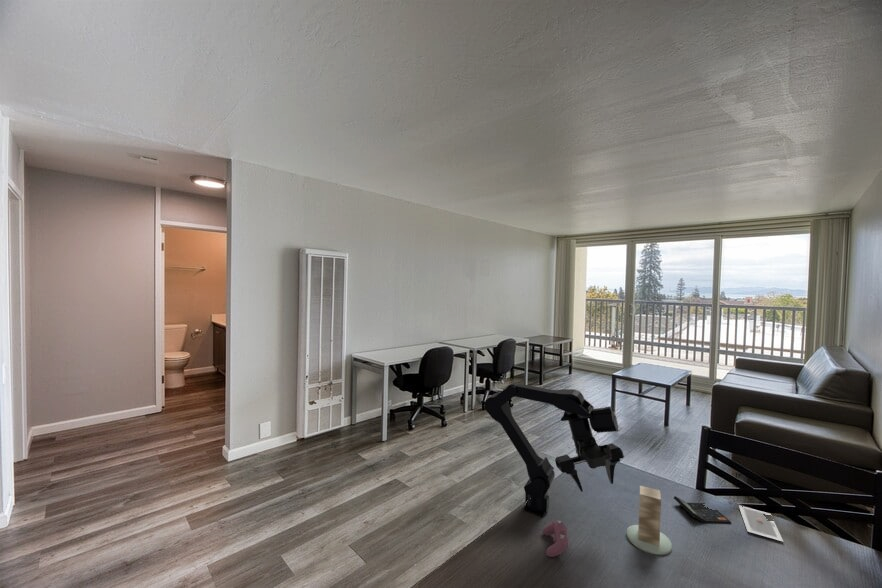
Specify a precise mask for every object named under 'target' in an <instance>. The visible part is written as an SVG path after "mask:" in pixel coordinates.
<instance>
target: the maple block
mask: <svg viewBox="0 0 882 588" xmlns="http://www.w3.org/2000/svg"><path fill="white" fill-rule="evenodd" d="M638 497H639V501H638V503H639V504H638V505H639V506H638V524H637V525H638V536H639V540H640V541H643V542H646V543H650V544H653V545H656V546H660V532H661V515H662V512H661V511H662V495H661V490H659V489H655V488H652V487H647V486H643V485H639V495H638Z"/></svg>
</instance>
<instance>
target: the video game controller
mask: <svg viewBox="0 0 882 588" xmlns="http://www.w3.org/2000/svg"><path fill="white" fill-rule="evenodd" d="M542 534H543V535H544V536H548V537H549V536H552V535H553V539H552V540H553V542H554V543H552V544H551V545H550V546H548V547H547V549H545V554H546V556H547V557H550V558H551V557H552V558H553V557H557V556H559V555H560V554H562V553H563V552H566V550H567V549H568V548H569V546H570V545H569V538H568V531H567V527H566V525H565V523H564V522H563V521H561V520H558V519H556V520H553V521H552V522H550V523H548V524H547V525H545V526H544V527H543V529H542Z"/></svg>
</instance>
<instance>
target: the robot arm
mask: <svg viewBox="0 0 882 588" xmlns="http://www.w3.org/2000/svg"><path fill="white" fill-rule="evenodd" d="M513 398H520V399H525V400H529V401H533V402H539V403H542V404H543V403H544V404H548V405H551V406H554V407H555V408H557V409H558V410H561V411H563V414H562V417H561V418H560V421H561V422H564V421H566V422H567V421H568V424H569V428H570V432H571V439H572V440H573V443H574V447H575V454H576V455H575V456H574V457H570V456H569V454H563V455H559V456H556V457H555V460H554V462H555V465H556V468H557V469H558V470H559V471H560V472H561V473H564V474H566V475H570V477H571V478H572V480H573V481H574V483H575V484H576V486H577V487H578V489H579V491H580V492H584V491H583V487H582V484H581V481H580V478H579V476H578V471H577V469H575V468H576V465H578V464H582V463H585V462H586V463H587V465H588V467H589V468H590V469H597V468H599V467H604V468H605V471H606V475H607V477H608V480H609V483H610V484H611V485H614V477H615V468H616V465H617V464H618V463H619V462H620V461H621V459H624V458H625V455H624V452H623V450H622V448H621V447H619V446H617V445H615V444H614V443H607V444H603V445H601V444H600V445H598V443H597V440H596V437H594V435H593V431H594V432H596V433H598V434H600V433H615V432H619V424H618V420H617V416H616V415H615V413H614V411H613V409H612V406H609V405H608V406H605V407H600V408H595V406H594V405H592V404H591V403H590V402H589V401H588V400H587V399H585V397H584V395H583V394H582V392H581V391H580V390H577V389H573V388H571V389H570V388H569V389H567V388H565V389H549V388H546V387H545V388H544V387H539V386H535V385H529V384H523V383H519V382H516V381H513V382H511V383H509V384H508V385H507V386H506V388H504V389H503V390H502V391H501V392H495V393H493V394H492V395H491V396H489V397H488V398H486V399H485V402H484V405H483V406H484V407H483V408H484V410H485V411H486V413H487V414H488V415H489V416H490V418H491V419H493V420H494V421H495V422H497V423H499V424H500V426H501V427H502V429H503V430H504V432H505V434H506V435H507V437H508V438H509V441H511V443H512V445H513V446H514V448H515V450H516V451H517V453H518V454H519V455H520V457H521V459H522V461H523V462H524V464H525V467H526V472H527V475H528V480H527V481H526V483H525V484H524V486H523V489H524V492H525V493H524V494H525V495H524V496H525V498H524V501H525V502H526V501H527V500H528V501H527V503H526V505H525V504H524V506H523V507H522V509H523V511H526V512H528V513H530V514H533V515H536V516H538V517H542V518H543V517H545V515H546V513H548V511H549V509H550V496H549V495H548V494H549V493H548V491H549V489H550V488H551V486H552V484H553V482H554V479H555V477H556V476H555V475H556V474H555V471H554V469H555V467H554V466H552V465H551V463H550V461H549V459H548V458H547V457H540V456H539V455H538V454H537V452H536V451H535V449H534V448H533V445H531V443H530V442H529V440H528V438H527V436H526V435H525V434H524V432H523V430H522V429H521V427H520V426H519V424H518V423H517V421H516V420H515V417H513V415H512V409H511V405H510V403H509V401H510V400H512V399H513ZM530 498H531V499H530ZM525 502H524V503H525Z"/></svg>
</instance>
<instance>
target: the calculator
mask: <svg viewBox="0 0 882 588" xmlns="http://www.w3.org/2000/svg"><path fill="white" fill-rule="evenodd" d="M673 499H674V500H675V501H676V502H677V503H678V504H679V505H680V506H681V507H682V508H683V509H685V510H686V512H687V513H688V514H689V515H691V516H692V517H694V518H695V519H697V520H699V521H700V522H702V523H705V524H727V525H728V524H732V521H731V520H730V519H728V518H727V517H726V516H725V515H724V514H722V513H721V512H720V511H719V510H718V509H716V510H712V509H709V508H708V507H707V508H706V507H704V506H705V505H703V504H705V503H706V502H703V503H702V502H686V501H684V500H683V499H681V498H679V497H678V496H676V495H674V496H673ZM709 522H710V523H709Z"/></svg>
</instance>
